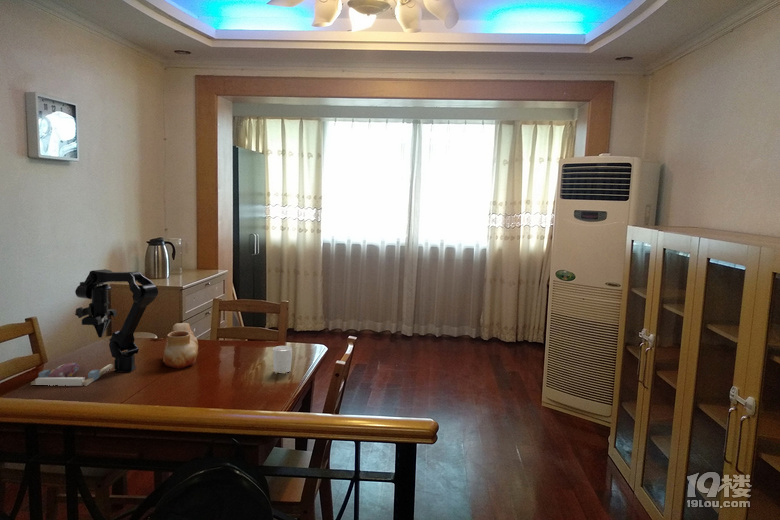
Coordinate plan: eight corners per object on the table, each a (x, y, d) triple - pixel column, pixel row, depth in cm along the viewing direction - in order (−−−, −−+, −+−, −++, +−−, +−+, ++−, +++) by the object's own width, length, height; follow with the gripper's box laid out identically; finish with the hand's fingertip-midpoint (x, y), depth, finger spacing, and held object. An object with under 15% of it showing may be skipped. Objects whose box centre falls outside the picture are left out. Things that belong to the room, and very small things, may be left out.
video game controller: (53, 386, 190) (58, 371, 188) (46, 379, 191) (51, 364, 190) (78, 378, 199) (83, 364, 197) (71, 371, 201) (76, 357, 199)
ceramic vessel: (199, 351, 237) (199, 319, 235) (197, 368, 212) (197, 333, 211) (166, 353, 232) (166, 320, 231) (161, 370, 208) (160, 334, 206)
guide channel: (113, 367, 209) (113, 360, 209) (87, 385, 187) (87, 377, 187) (62, 367, 207) (62, 359, 207) (30, 385, 185) (29, 377, 185)
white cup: (295, 370, 213) (295, 347, 212) (284, 375, 206) (284, 351, 205) (280, 367, 216) (280, 344, 215) (268, 372, 209) (268, 349, 208)
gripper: (89, 296, 217) (90, 331, 218) (66, 303, 198) (67, 343, 200) (117, 296, 218) (117, 332, 219) (97, 304, 199) (97, 343, 201)
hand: (100, 337), depth 210 cm, fingers closed
